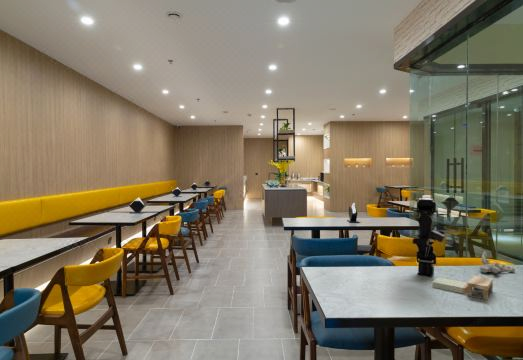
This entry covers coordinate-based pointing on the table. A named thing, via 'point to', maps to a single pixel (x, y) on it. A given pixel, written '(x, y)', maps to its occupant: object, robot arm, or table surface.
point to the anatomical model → (492, 266)
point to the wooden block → (480, 286)
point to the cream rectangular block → (451, 285)
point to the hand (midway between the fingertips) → (425, 257)
